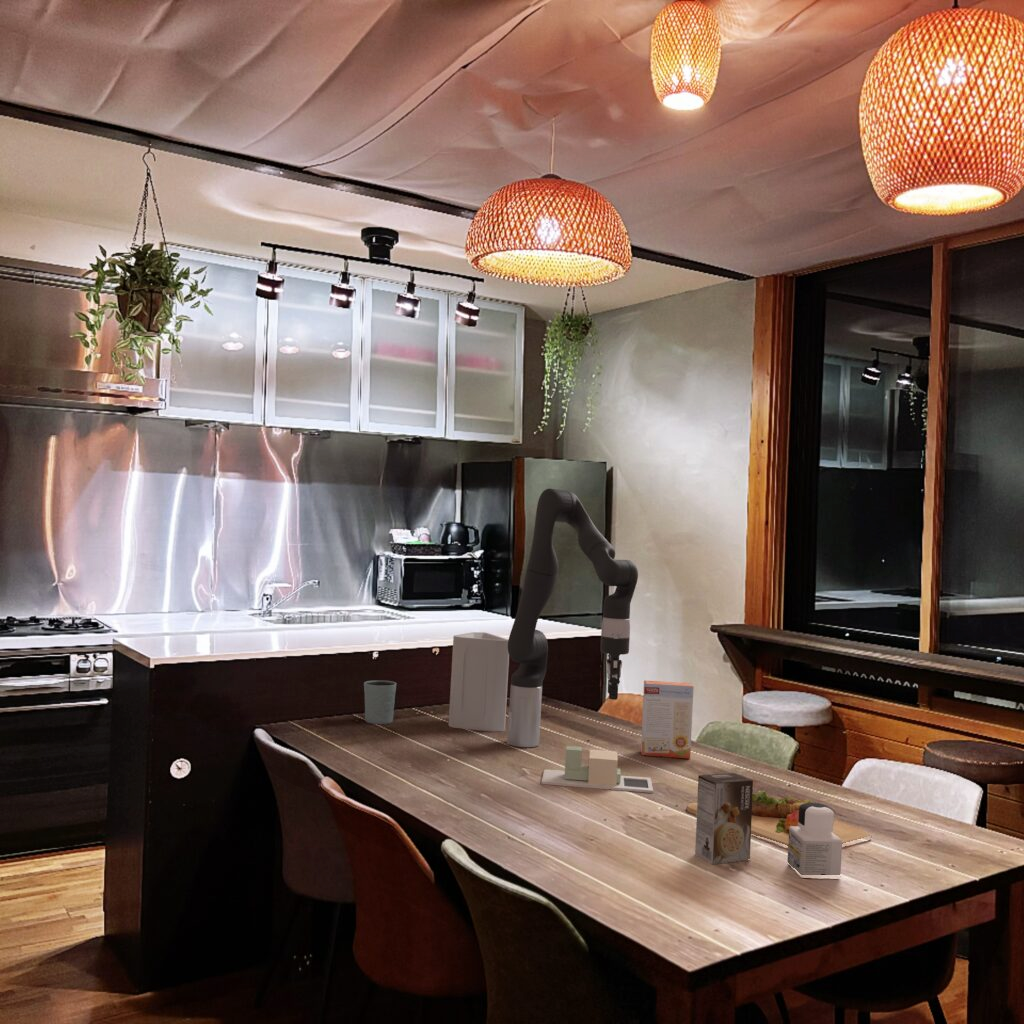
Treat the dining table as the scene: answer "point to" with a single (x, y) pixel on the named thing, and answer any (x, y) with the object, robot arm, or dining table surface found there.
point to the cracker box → (667, 719)
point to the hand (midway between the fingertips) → (612, 696)
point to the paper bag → (479, 682)
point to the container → (815, 842)
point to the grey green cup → (379, 701)
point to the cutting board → (784, 819)
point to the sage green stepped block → (578, 765)
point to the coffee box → (724, 818)
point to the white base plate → (601, 775)
